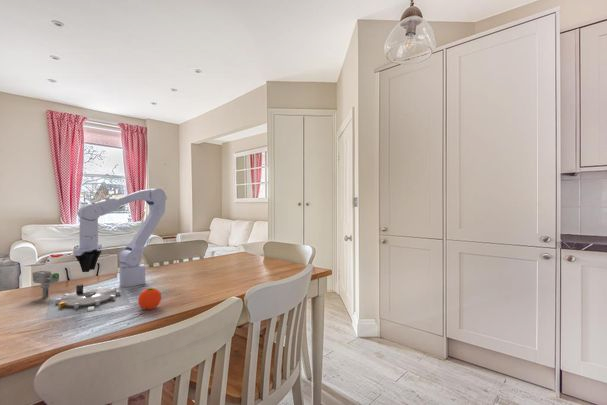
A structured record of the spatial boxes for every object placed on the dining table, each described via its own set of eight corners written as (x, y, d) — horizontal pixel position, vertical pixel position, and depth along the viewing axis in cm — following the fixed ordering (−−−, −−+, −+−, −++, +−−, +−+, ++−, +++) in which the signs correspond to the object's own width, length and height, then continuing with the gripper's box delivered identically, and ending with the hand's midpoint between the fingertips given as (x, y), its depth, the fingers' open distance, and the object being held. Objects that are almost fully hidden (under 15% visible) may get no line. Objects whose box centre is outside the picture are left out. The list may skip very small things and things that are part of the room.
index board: (121, 289, 116) (122, 285, 116) (130, 306, 97) (130, 302, 97) (50, 300, 102) (50, 296, 102) (44, 323, 83) (45, 318, 83)
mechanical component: (52, 302, 100) (52, 274, 100) (29, 299, 103) (30, 272, 102) (60, 299, 103) (61, 272, 103) (39, 296, 105) (39, 270, 105)
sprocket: (131, 294, 106) (131, 283, 106) (77, 312, 89) (77, 298, 89) (99, 288, 113) (99, 277, 113) (42, 304, 95) (43, 291, 95)
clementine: (140, 305, 99) (141, 285, 99) (162, 303, 101) (162, 283, 101) (136, 314, 91) (136, 292, 91) (159, 311, 94) (160, 290, 94)
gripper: (88, 233, 115) (88, 266, 115) (64, 238, 101) (64, 275, 101) (107, 233, 116) (107, 266, 116) (86, 238, 102) (85, 275, 102)
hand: (88, 270), depth 108 cm, fingers open, 3 cm apart
